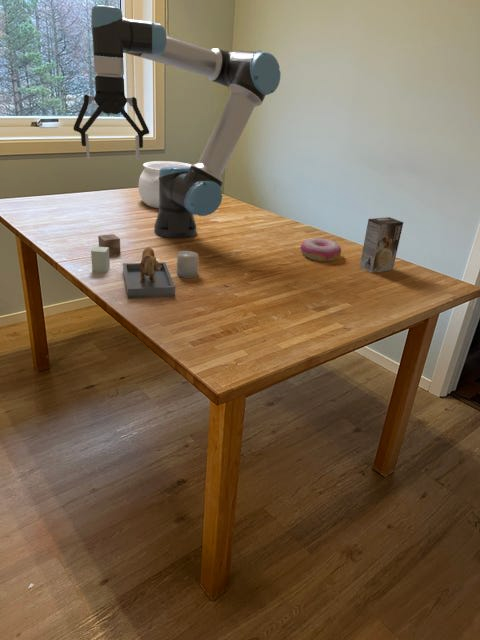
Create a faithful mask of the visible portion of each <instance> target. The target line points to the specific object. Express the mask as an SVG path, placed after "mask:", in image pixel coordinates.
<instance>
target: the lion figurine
mask: <svg viewBox="0 0 480 640" xmlns="http://www.w3.org/2000/svg"><path fill="white" fill-rule="evenodd" d="M156 257H157V256H155V251H154V249H153V248H152V247H146V248H144V249H143V251H142V255H141V261H140V262H139V263H140V270H141V280H140V282H141V283H144V282H145V277H144V275H145V276H150V277H149V280H150V282H154V281H155V280H154V279H153V275H154V273H155V271H157V272H159V270H160V269H161V267H162V266H161V265H160V264H159V263H158V262H159V261H157V258H156Z"/></svg>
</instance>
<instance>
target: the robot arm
mask: <svg viewBox="0 0 480 640" xmlns="http://www.w3.org/2000/svg"><path fill="white" fill-rule="evenodd" d="M90 18H91V24H90V25H91V35H92V37H91V38H92V48H93V50H92V51H93V69H94V73H95V74H96V75H95V77H94V86H95V94H94V95H90V94H88V93H85V94H84V95H83V104H82V106H81V108H80V111H79V113H78V115H77V118H76V119H75V122H74V125H73V128H72V129H73V132H77V133H79V134H80V141H81V146H82V147H86V149H85V150H86V160H90V159H91V155H90V154H91V153H90V143H89V141H90V139H89V133H88V130H89V128H90V127H91V126H92V125H93V123H95V121H96V120H97V119H98V117H99V116H100V115H101V114H102V113H103V114H105V115H108V114H113V115H119V114H121V115H122V116H123V118H125V120H126V121H127V122H128V124H129V125H130V126H131V127H132V128H133V130H134V131H135V133H137V134H135V137H134V138H135V139H134V141H135V159H136V161H140V149H143V147H144V136H145V135H149V134H150V130H149V127H148V125H147V124H146V122H145V119H144V118H143V115H142V113H141V110H140V108H139V106H138V99H137V98H136V97H135V96H132V97H126V93H125V91H126V89H125V79H124V77H123V76H124V75H125V69H124V68H125V66H124V54H127V55H130V56H135V57H139V58H143V59H146V60H149V61H152V62H156V63H159V64H163V65H167V66H170V67H173V68H178V69H180V70H185V71H188V72H192V73H194V74H198V75H201V76H205V78H206V79H207V80H208V81H211V82H214V83H216V84H220V85H223V87H224V86H225V87H227V88H229V91H230V94H229V96H228V99H227V101H226V103H225V105H224V107H223V109H222V111H221V113H220V116H219V118H218V120H217V122H216V124H215V126H214V128H213V130H212V131H211V135H210V136H209V138H208V140H207V143H206V145H205V147H204V149H203V151H202V153H201V156H200V158H199V160H198V162H196V163H194V164H191V167H184V166H174V167H163V168H161V169H160V173H159V208H158V213H157V216H156V219H155V223H154V226H153V227H154V233H155V234H156V235H158V236H161V237H165V238H170V239H185V238H191V237H193V236H194V237H195V235H196V234H197V225H196V221H195V220H196V219H195V217H194V216H195V215H196V216H200V217H205V216H209V215H211V214H213V213H215V212H216V211H217V210H218V209H219V207H220V205H221V204H222V201H223V194H222V193H223V191H222V188H221V187H222V186H223V184H224V181H223V178H222V175H223V173H224V171H225V169H226V167H227V165H228V163H229V161H230V159H231V157H232V155H233V153H234V151H235V148H236V146H237V145H238V142H239V139H240V138H241V136H242V133H243V132H244V130H245V127H246V125H247V123H248V122H249V120H250V118H251V115H252V113H253V111H254V109H255V108H256V107H259V106H261V105H262V103H263V102H264V100H265V98H266V96H268V95H270V94H273V93H274V92H275V91H276V90H277V88H278V87H279V85H280V81H281V70H280V65H279V61H278V60H277V58H276V57H275V56H274V54H271V53H270V52H266V51H263V50H257V51H253V50H250V51H245V50H223V49H220V48H218V47H217V48H211V49H208V48H205V47H202V46H200V45H199V46H198V45H196V44H194V43H193V44H192V43H189V42H187V41H183V40H181V39H180V40H179V39H177V38H174V37H171V36H168V35H167V32H166V29H165V27H164V26H163V24H161V23H158V22H153V21H152V20H151V21H148V20H138V19H130V18H129V19H128V18H126V17H123V11H122V9H121V8H120V7H117V6H116V7H115V6H111V5H98V4H97V5H94V6H93V7H92V8H91V17H90ZM93 101H95V103H96V105H97V108H96V109H95V110H94V112H93V113H92V114H91V116H90V117H89V118H88V120H86V122H85V123H84V125H83V126H82V127H81V126H80V125H81V124H82V121H83V120H84V116H85V115H86V112H87V110H88V107H89V105H90V104H92V102H93ZM127 103H128V105H129V106H130V107H132V108H133V111H134V113H135V115H136V117H137V119H138V121H139V123H140V126H141V128H142V130H141V129H140V128H139V126H138V125H137V124H136V122H134V120H133V119H132V117H130V115H129V114H128V113H127V111H126V110H125V109H124V108H125V106H126V104H127Z"/></svg>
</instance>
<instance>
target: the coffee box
mask: <svg viewBox="0 0 480 640" xmlns="http://www.w3.org/2000/svg"><path fill="white" fill-rule="evenodd" d="M403 226H404V221H400V220H398V219H396V218H393V217H388V216H387V217H376V218H368V220H367V225H366V231H365V236H364V242H363V247H362V251H361V257H360V261H359V267H360V268H361V269H363V270H366V271H367V272H368V273H371V274H373V273H374V274H375V273H381V272H388V271H389V272H390V271H393V270H394V266H395V261H396V256H397V253H398V248H399V243H400V239H401V234H402V231H403Z"/></svg>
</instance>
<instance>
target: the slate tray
mask: <svg viewBox="0 0 480 640" xmlns="http://www.w3.org/2000/svg"><path fill="white" fill-rule="evenodd" d="M140 263H141V262H133V263H132V262H129V263H128V262H127V263H122V270H123V271H122V273H123V277H124V283H125V290H126V294H127V299H140V298H141V299H142V298H143V299H144V298H145V299H146V298H165V297H175V296H176V286H175V284H174V281H173V278H172V276H171V274H170V271H169V268H168V265H167V264H166V261H165V262H162V261H158V263H159V264H160V265H161V266H162V267H161V269H160V270H159V272H157V271H155V273H154V275H153V279H154V280H155V281H154V282H150V280H149V277H150V276H145V275H144V277H145V282H144V283H141V282H140V280H141V270H140Z"/></svg>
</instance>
